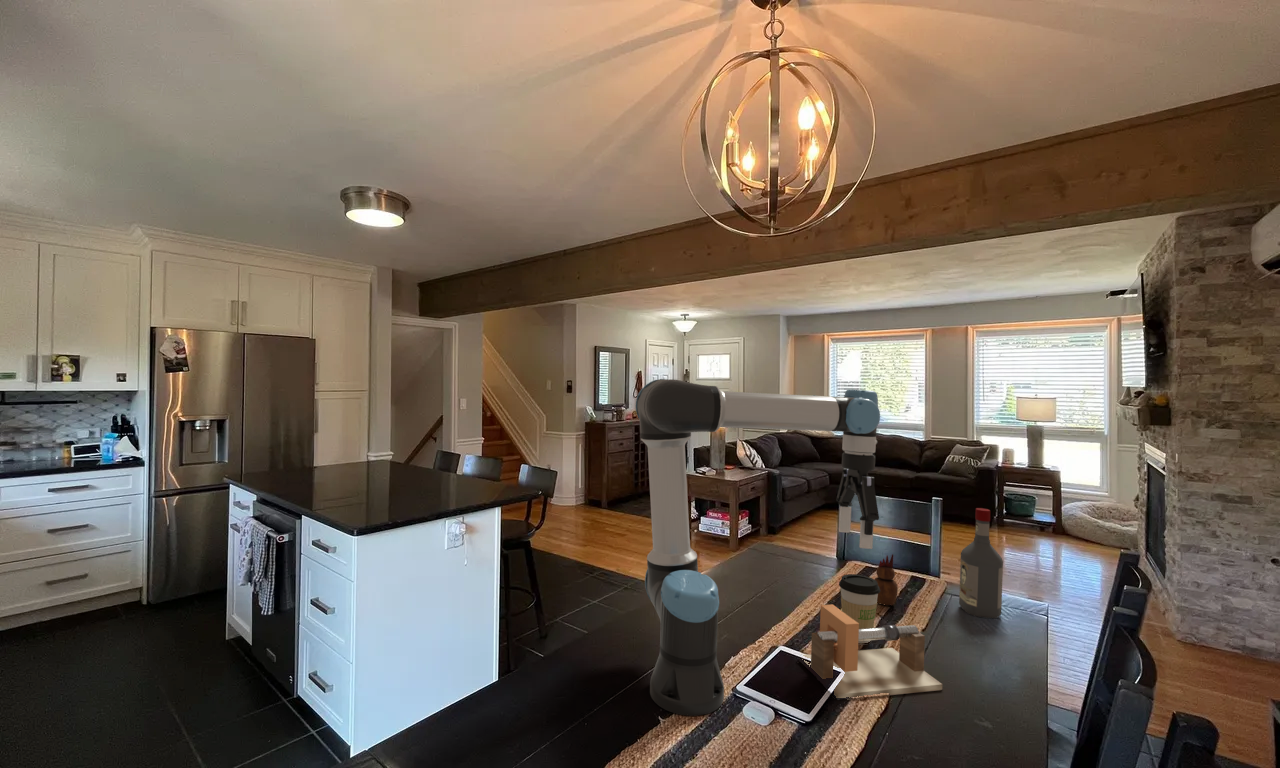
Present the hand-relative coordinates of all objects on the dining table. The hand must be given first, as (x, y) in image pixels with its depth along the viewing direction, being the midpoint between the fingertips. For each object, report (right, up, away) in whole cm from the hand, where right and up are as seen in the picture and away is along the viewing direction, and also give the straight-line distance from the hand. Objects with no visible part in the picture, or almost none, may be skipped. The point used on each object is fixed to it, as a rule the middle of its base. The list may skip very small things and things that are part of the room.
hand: (854, 539), depth 131 cm
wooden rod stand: (-2, -27, -11) cm, 29 cm away
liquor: (+47, -29, +26) cm, 61 cm away
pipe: (-1, -20, -11) cm, 22 cm away
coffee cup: (+3, -27, +7) cm, 28 cm away
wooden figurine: (+21, -28, +30) cm, 46 cm away
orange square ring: (-9, -23, -12) cm, 27 cm away
